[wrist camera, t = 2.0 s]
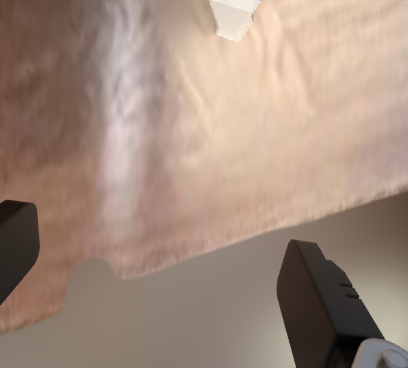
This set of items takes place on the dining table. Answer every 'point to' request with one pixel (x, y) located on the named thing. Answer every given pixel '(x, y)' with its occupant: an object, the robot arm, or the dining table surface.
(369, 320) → the robot arm
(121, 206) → the dining table surface
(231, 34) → the white faceted vase
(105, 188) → the dining table surface
